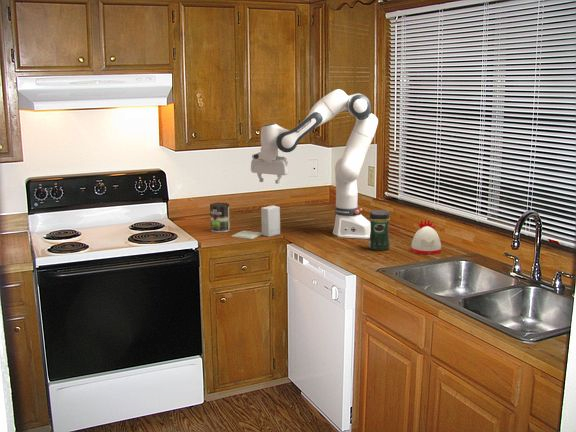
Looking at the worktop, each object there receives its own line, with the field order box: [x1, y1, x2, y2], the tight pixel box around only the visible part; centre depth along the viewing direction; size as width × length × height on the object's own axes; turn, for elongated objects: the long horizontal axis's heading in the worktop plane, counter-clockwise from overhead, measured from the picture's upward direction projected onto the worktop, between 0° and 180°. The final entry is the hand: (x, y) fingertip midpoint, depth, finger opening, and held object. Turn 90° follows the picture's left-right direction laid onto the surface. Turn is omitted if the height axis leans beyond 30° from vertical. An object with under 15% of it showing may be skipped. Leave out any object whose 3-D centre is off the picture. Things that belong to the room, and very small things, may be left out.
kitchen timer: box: [410, 218, 442, 255], centre depth 304 cm, size 14×14×15 cm
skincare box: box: [260, 204, 281, 238], centre depth 336 cm, size 8×6×15 cm
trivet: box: [230, 230, 263, 240], centre depth 337 cm, size 12×12×1 cm
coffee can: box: [209, 202, 231, 233], centre depth 348 cm, size 10×10×14 cm
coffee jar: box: [368, 209, 391, 251], centre depth 308 cm, size 10×8×19 cm
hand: (269, 182), depth 333 cm, fingers open, 8 cm apart
